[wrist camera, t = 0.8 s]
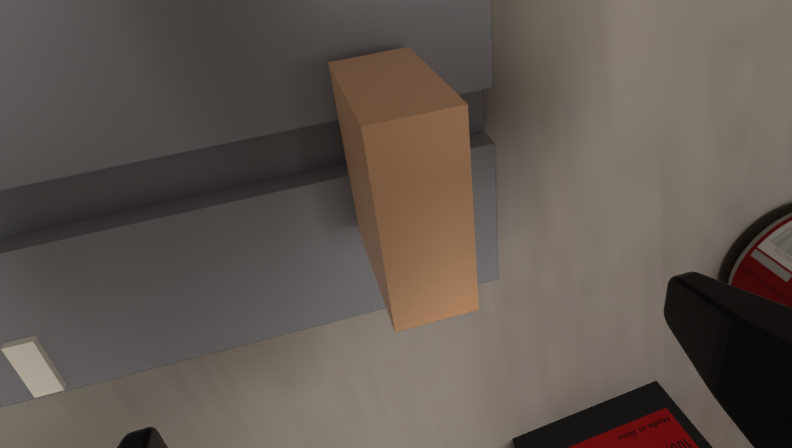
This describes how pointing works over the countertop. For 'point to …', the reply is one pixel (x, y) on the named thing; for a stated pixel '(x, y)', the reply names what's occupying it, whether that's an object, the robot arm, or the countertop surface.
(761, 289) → the soda can
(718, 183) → the countertop surface
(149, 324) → the console
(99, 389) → the countertop surface
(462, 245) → the tan rectangular block
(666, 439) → the cleaning product box
